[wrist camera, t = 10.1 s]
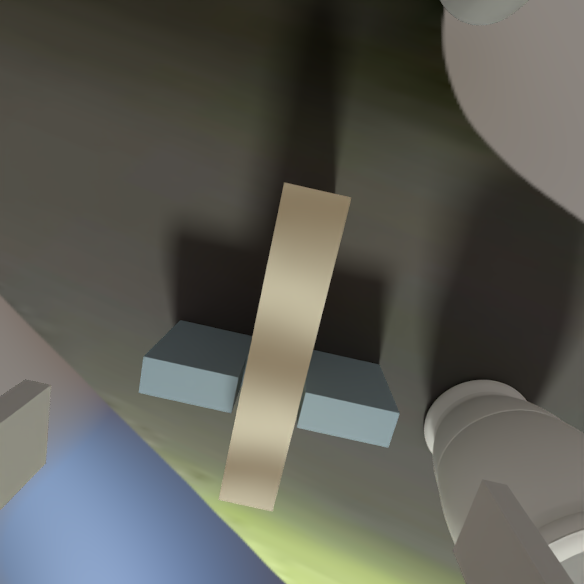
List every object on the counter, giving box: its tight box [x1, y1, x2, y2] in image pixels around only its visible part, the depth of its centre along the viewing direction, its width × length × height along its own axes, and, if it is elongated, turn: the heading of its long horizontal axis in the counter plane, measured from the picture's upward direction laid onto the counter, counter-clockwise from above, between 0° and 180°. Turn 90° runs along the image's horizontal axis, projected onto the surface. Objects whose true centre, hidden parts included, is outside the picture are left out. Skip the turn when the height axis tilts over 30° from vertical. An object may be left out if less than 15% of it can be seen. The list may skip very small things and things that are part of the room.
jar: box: [424, 380, 584, 584], centre depth 24 cm, size 11×10×15 cm
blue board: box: [139, 320, 400, 447], centre depth 27 cm, size 16×2×7 cm, turn 77°
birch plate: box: [219, 182, 351, 511], centre depth 24 cm, size 17×3×11 cm, turn 168°
